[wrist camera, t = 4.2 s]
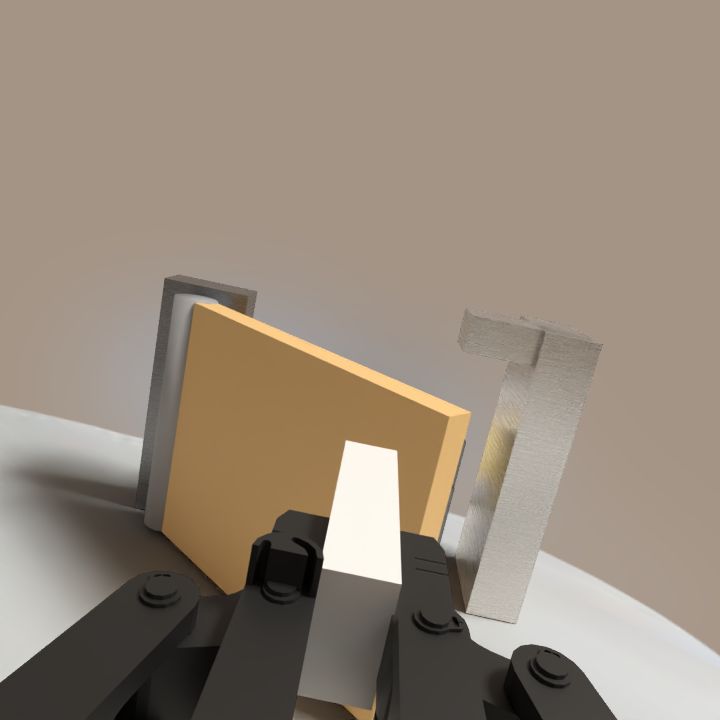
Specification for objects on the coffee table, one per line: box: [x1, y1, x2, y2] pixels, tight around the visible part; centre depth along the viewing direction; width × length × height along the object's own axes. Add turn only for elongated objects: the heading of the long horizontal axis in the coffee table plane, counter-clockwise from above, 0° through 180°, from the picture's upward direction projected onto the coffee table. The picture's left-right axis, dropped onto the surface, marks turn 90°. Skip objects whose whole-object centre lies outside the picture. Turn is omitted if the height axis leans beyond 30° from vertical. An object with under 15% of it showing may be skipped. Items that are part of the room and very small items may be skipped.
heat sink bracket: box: [135, 275, 603, 624], centre depth 37 cm, size 24×8×17 cm, turn 87°
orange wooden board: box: [144, 294, 471, 720], centre depth 30 cm, size 19×2×14 cm, turn 47°
